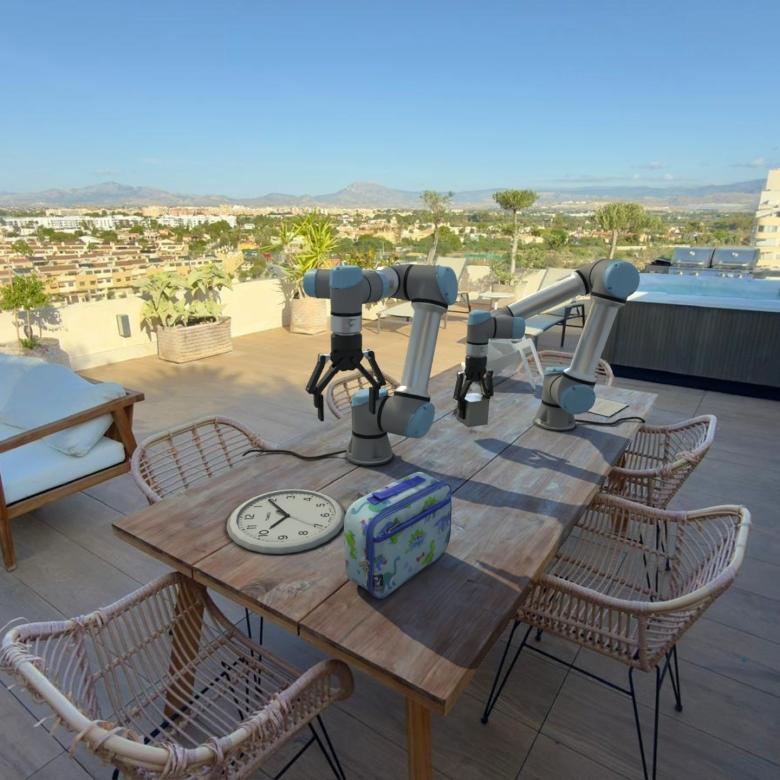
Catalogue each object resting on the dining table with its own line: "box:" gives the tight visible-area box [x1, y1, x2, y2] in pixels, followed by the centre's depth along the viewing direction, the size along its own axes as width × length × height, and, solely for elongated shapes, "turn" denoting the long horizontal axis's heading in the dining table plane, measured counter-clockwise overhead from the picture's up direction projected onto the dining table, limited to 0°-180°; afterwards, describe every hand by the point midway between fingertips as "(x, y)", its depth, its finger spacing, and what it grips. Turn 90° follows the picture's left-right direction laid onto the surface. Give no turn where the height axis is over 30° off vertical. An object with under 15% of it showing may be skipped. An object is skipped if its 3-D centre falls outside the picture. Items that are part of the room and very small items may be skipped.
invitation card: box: [587, 397, 629, 418], centre depth 226 cm, size 21×1×15 cm
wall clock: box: [226, 488, 346, 555], centre depth 135 cm, size 30×2×30 cm
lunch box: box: [343, 471, 453, 599], centre depth 113 cm, size 26×11×21 cm, turn 134°
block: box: [455, 392, 490, 428], centre depth 188 cm, size 8×8×9 cm
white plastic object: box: [460, 333, 545, 391], centre depth 259 cm, size 37×45×31 cm
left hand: (347, 416), depth 131 cm, fingers open, 13 cm apart
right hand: (472, 416), depth 188 cm, fingers closed on block, 8 cm apart
